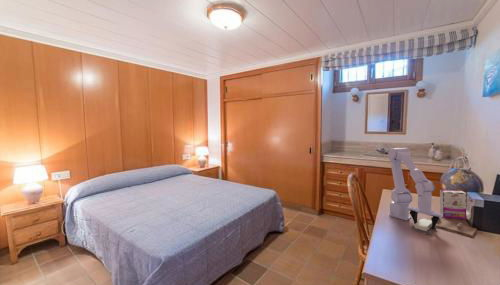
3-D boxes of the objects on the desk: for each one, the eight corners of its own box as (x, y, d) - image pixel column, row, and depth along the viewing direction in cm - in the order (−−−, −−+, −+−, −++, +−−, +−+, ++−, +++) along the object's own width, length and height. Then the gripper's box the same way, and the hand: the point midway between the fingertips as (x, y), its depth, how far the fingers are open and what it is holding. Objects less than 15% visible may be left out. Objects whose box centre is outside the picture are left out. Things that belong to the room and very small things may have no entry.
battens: (412, 229, 115) (412, 226, 115) (418, 224, 120) (418, 221, 120) (430, 235, 108) (430, 231, 108) (436, 229, 114) (436, 226, 113)
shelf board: (426, 231, 109) (426, 227, 109) (414, 227, 113) (414, 224, 113) (433, 224, 115) (433, 221, 115) (422, 221, 119) (422, 218, 119)
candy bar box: (462, 216, 128) (462, 190, 127) (466, 220, 123) (467, 193, 122) (439, 214, 132) (439, 189, 131) (443, 217, 128) (443, 191, 127)
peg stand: (422, 223, 121) (423, 218, 121) (429, 218, 127) (429, 213, 127) (472, 237, 105) (472, 231, 105) (476, 230, 111) (476, 225, 111)
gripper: (406, 201, 117) (405, 224, 118) (439, 208, 105) (439, 234, 106) (410, 198, 121) (410, 220, 122) (443, 205, 109) (443, 230, 110)
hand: (424, 226), depth 114 cm, fingers open, 7 cm apart
